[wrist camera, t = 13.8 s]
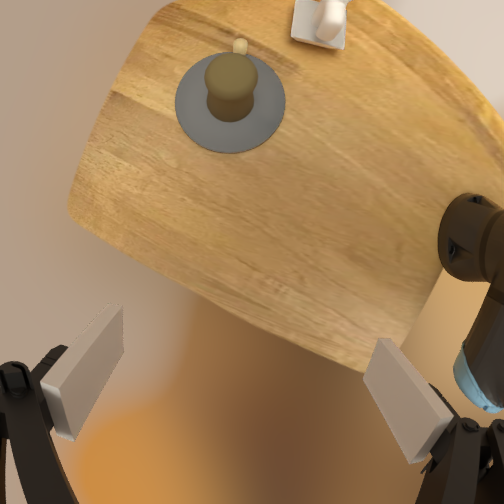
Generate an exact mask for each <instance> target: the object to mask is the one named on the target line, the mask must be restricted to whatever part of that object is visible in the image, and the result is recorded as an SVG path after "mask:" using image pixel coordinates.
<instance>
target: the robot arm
mask: <svg viewBox="0 0 504 504" xmlns="http://www.w3.org/2000/svg"><path fill="white" fill-rule="evenodd" d="M438 250H439V256H440V260H441V263H442V265H443V267H444V269H445V270H446V271H447V272H448V273H449V274H450V275H451V276H453V277H455V278H457V279H459V280H462V281H468V282H470V281H471V282H472V281H473V282H474V281H475V282H489V283H491V285H490V287H489V290H488V292H487V294H486V297H485V299H484V301H483V304H482V306H481V308H480V311H479V313H478V315H477V318H476V319H475V322H474V324H473V326H472V328H471V330H470V332H469V334H468V336H467V338H466V339H465V340H464V341H463V343H462V347H461V350H460V352H459V355H458V356H457V358H456V360H455V363H454V366H453V372H454V378H455V381H456V383H457V385H458V386H459V388H460V389H461V391H462V392H463V393H464V394H465V396H466V397H467V398H468V399H469V400H470V401H471V402H472V403H473V404H475V405H476V406H477V407H479V408H483V409H484V410H485V411H486V412H489V413H498V412H499V411H501V410H503V409H504V209H502V208H501V207H499V206H498V205H497V204H495V203H494V202H492V201H491V200H490V199H488V198H487V197H485V196H482V195H479V194H473V193H466V194H463V195H461V196H459V197H457V198H456V199H455V200H454V201H453V202H452V203H451V204H450V206H449V207H448V209H447V210H446V212H445V214H444V216H443V219H442V222H441V225H440V230H439V237H438ZM123 353H124V348H123V306H120V305H116V304H111V303H108V304H107V305H106V306H105V307H104V308H103V310H102V311H101V312H100V313H99V314H98V315H97V316H96V317H95V318H94V319H93V321H92V322H91V323H90V324H89V325H88V326H87V327H86V328H85V329H84V330H83V332H82V333H81V334H80V335H79V336H78V337H77V338H76V340H75V341H74V342H73V343H72V344H71V345H70V346H69V347H67V346H64V345H59V346H57V347H55V348H53V349H51V350H50V351H49V353H48V354H47V355H46V356H45V357H44V358H43V359H42V360H41V362H40V363H38V364H37V366H36V367H35V368H34V369H33V370H32V371H31V372H30V371H29V369H28V367H27V366H26V365H25V364H23V363H21V362H18V361H15V362H14V361H10V362H7V363H4V364H2V365H1V366H0V504H6V495H5V494H6V492H5V463H6V444H7V439H10V443H11V448H12V452H13V457H14V460H15V465H16V468H17V472H18V475H19V479H20V482H21V485H22V489H23V491H24V495H25V498H26V501H27V503H28V504H79V502H78V501H77V498H76V496H75V494H74V492H73V490H72V488H71V486H70V483H69V481H68V479H67V477H66V474H65V472H64V470H63V467H62V465H61V462H60V460H59V457H58V454H57V452H56V449H55V446H54V444H53V441H52V438H51V436H50V430H51V429H52V427H53V426H54V428H55V430H56V433H57V435H58V436H60V437H63V438H66V439H68V440H71V441H73V442H74V441H75V440H76V438H77V436H78V434H79V432H80V430H81V428H82V426H83V424H84V422H85V421H86V419H87V417H88V415H89V413H90V411H91V409H92V408H93V406H94V404H95V402H96V400H97V398H98V397H99V395H100V393H101V391H102V389H103V388H104V386H105V384H106V382H107V381H108V379H109V377H110V375H111V374H112V372H113V370H114V368H115V367H116V365H117V363H118V361H119V360H120V358H121V356H122V354H123ZM363 381H364V382H365V384H366V386H367V388H368V390H369V391H370V393H371V395H372V397H373V399H374V400H375V402H376V404H377V406H378V408H379V409H380V411H381V413H382V415H383V416H384V418H385V420H386V422H387V424H388V426H389V427H390V429H391V431H392V433H393V435H394V437H395V439H396V440H397V442H398V444H399V446H400V448H401V449H402V452H403V453H404V455H405V457H406V459H407V461H408V463H409V464H412V463H417V462H420V461H423V460H424V459H425V457H426V456H427V454H428V453H429V452H430V453H431V455H432V456H433V457H432V458H431V460H430V461H429V462H428V463H427V465H426V466H425V467H424V468H423V470H422V471H421V474H422V473H423V472H424V471H425V470H426V473H425V476H424V479H423V483H422V485H421V488H420V491H419V494H418V497H417V500H416V503H415V504H504V420H501V419H495V420H493V422H492V424H491V425H490V426H489V428H482V427H480V426H479V424H478V423H477V422H476V421H474V420H472V419H470V418H460V416H459V415H458V414H457V413H456V411H455V410H454V409H453V408H452V407H451V405H450V404H449V403H448V402H447V400H446V399H445V398H444V397H442V394H441V393H440V392H439V390H438V389H436V388H435V387H434V386H432V385H431V384H430V383H427V382H426V380H425V379H424V378H423V377H422V376H421V374H420V373H419V372H418V371H417V370H416V368H415V367H414V366H413V365H412V364H411V362H410V361H409V360H408V359H407V358H406V356H405V355H404V354H403V353H402V352H401V351H400V349H399V348H398V347H397V346H396V345H395V343H394V342H393V341H392V340H391V339H390V338H378V341H377V344H376V347H375V349H374V352H373V354H372V357H371V360H370V362H369V365H368V367H367V370H366V372H365V375H364V377H363ZM492 459H493V465H492V466H491V467H489V463H490V461H491V460H492Z"/></svg>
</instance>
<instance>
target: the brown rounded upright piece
mask: <svg viewBox="0 0 504 504" xmlns="http://www.w3.org/2000/svg"><path fill="white" fill-rule="evenodd" d="M204 80H205V85H206V87H207V89H208V94H207V100H206V102H207V108H208V110H209V111H210V113H211V114H212V115H213V116H214V117H215V118H216V119H218V120H220V121H223V122H230V123H231V122H237V121H240V120H242V119H244V118H245V117H246V116H247V115H249V114H250V112H251V110H252V108H253V106H254V95H253V91H254V89H255V87H256V85H257V81H258V72H257V68H256V67H255V65H254V63H253V62H252V61H251V60H250V59H249V58H248V57H246V56H244V55H242V54H239V53H225V54H222V55H219V56H217V57H216V58H214V59H213V60H212V61H211V62H210V63H209V65H208V67H207V68H206V70H205V75H204Z"/></svg>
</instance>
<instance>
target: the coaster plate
mask: <svg viewBox="0 0 504 504" xmlns="http://www.w3.org/2000/svg"><path fill="white" fill-rule="evenodd" d="M247 46H248V43H247V41H246V40H245V39H243V38H239V39H236V40H235V41H234V47H233V52H223V53H218V54H214V55H211V56H208V57H206V58H204V59H202V60H200V61H199V62H197V63H196V64H195V65H193V66H192V67H191V68H190V69H189V70H188V71H187V72H186V74H185V75H184V76H183V78H182V80H181V81H180V83H179V86H178V88H177V92H176V97H175V110H176V115H177V118H178V121H179V123H180V125H181V127H182V128H183V130H184V131H185V133H186V134H187V135H188V136H189V137H190V138H191V139H192V140H193V141H195V142H196V143H197V144H199V145H200V146H202V147H204V148H206V149H208V150H211V151H215V152H220V153H239V152H244V151H247V150H250V149H252V148H255V147H257V146H258V145H260V144H262V143H263V142H264V141H266V140H267V139H268V138H269V137H270V136H271V135H272V134H273V133H274V132H275V130H276V129H277V127H278V126H279V124H280V122H281V120H282V117H283V114H284V110H285V93H284V89H283V86H282V83H281V81H280V79H279V78H278V76H277V75H276V73H275V72H274V71H273V70H272V69H271V68H270V67H269V66H268V65H267V64H266V63H264V62H263V61H261V60H260V59H258V58H256V57H254V56H251V55H248V54H246V52H247ZM225 53H239V54H242V55H244V56H246V57H248V58H249V59H250V60H251V61H252V62H253V63H254V65H255V67H256V68H257V72H258V81H257V85H256V87H255V89H254V91H253V95H254V106H253V108H252V110H251V112H250V114H249V115H247V116H246V117H245V118H244V119H242V120H240V121H237V122H231V123H230V122H223V121H220V120H218V119H216V118H215V117H214V116H213V115H212V114H211V113H210V111H209V110H208V108H207V102H206V100H207V94H208V89H207V87H206V85H205V80H204V75H205V70H206V68H207V67H208V65H209V63H210V62H211V61H212V60H213V59H214V58H216V57H217V56H219V55H222V54H225Z"/></svg>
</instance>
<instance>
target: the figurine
mask: <svg viewBox="0 0 504 504" xmlns="http://www.w3.org/2000/svg"><path fill="white" fill-rule="evenodd" d="M350 1H351V0H321V1H320V2H316V1H312V0H296V1H295V8H294V15H293V22H292V29H291V37H292V38H294V39H295V40H296V41H300V42H304V43H309V44H313V45H317V46H321V47H324V48H331V49H341V50H344V46H345V32H346V16H347V10H345V8H346V6H347V4H348V2H350Z"/></svg>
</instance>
